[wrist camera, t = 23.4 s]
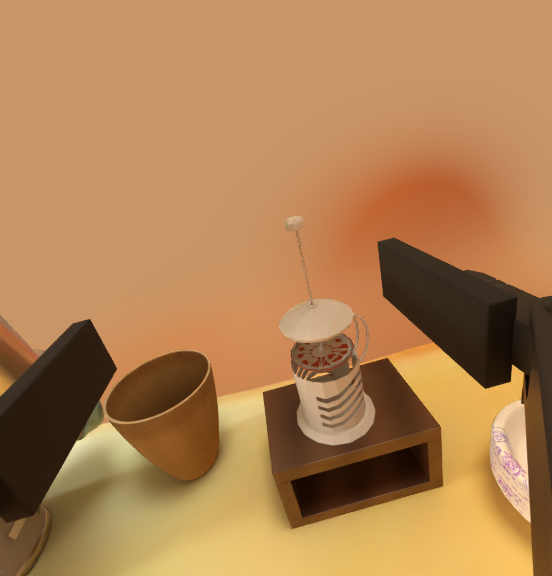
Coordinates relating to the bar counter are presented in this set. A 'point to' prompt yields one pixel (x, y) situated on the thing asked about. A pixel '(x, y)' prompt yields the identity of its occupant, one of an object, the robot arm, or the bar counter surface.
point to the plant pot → (169, 412)
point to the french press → (326, 367)
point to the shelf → (354, 451)
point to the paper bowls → (511, 456)
